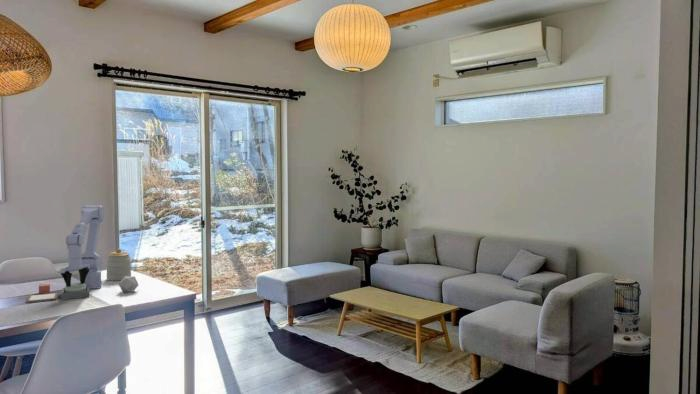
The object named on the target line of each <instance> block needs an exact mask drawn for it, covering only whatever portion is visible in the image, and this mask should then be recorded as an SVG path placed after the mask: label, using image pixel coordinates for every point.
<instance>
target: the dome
mask: <svg viewBox="0 0 700 394" xmlns="http://www.w3.org/2000/svg"><path fill="white" fill-rule="evenodd" d="M64 288H65V293H66V292H77V291H86V285H85V283H80V282H71V286H70V287H67V286H66V285H65V287H64Z"/></svg>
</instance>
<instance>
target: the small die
mask: <svg viewBox="0 0 700 394" xmlns="http://www.w3.org/2000/svg"><path fill="white" fill-rule="evenodd" d="M49 293H51V283H41V284H39V285H38V294H49Z"/></svg>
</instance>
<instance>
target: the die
mask: <svg viewBox="0 0 700 394" xmlns="http://www.w3.org/2000/svg"><path fill="white" fill-rule="evenodd" d="M118 285H119V287H120V290H121V292H122V293H134V292H135V290H136V289H137V288H138V287H139V282H138V280H137V278H136V276H134V275H133V276H132V275H131V276H125V277H124V278H123V279H122V280H121V281H119V283H118Z"/></svg>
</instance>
